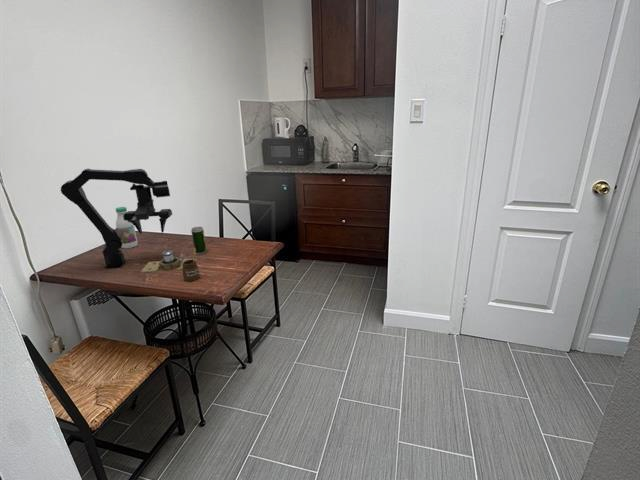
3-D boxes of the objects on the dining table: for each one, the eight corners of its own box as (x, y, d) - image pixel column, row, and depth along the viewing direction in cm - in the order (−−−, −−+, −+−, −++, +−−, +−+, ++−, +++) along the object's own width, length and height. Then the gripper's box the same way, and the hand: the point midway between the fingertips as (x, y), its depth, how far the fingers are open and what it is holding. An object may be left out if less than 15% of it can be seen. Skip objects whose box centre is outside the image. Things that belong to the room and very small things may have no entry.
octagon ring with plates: (141, 272, 142) (139, 267, 141) (149, 263, 152) (148, 258, 151) (193, 268, 145) (192, 263, 144) (198, 259, 154) (197, 254, 153)
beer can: (196, 255, 159) (192, 230, 155) (193, 251, 163) (189, 228, 159) (208, 252, 162) (204, 228, 157) (204, 249, 166) (201, 225, 162)
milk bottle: (122, 244, 175) (113, 206, 169) (139, 242, 178) (131, 205, 171) (119, 249, 168) (109, 210, 162) (136, 247, 171) (127, 208, 164)
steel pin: (163, 268, 146) (160, 254, 143) (166, 264, 150) (163, 250, 148) (174, 267, 146) (171, 253, 144) (177, 263, 150) (174, 249, 148)
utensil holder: (181, 278, 136) (176, 250, 132) (196, 273, 140) (191, 246, 136) (187, 283, 132) (182, 254, 128) (203, 277, 136) (198, 249, 132)
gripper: (113, 204, 139) (122, 240, 145) (161, 202, 141) (168, 237, 147) (124, 198, 150) (132, 232, 155) (169, 196, 152) (175, 229, 157)
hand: (151, 233), depth 153 cm, fingers open, 9 cm apart
